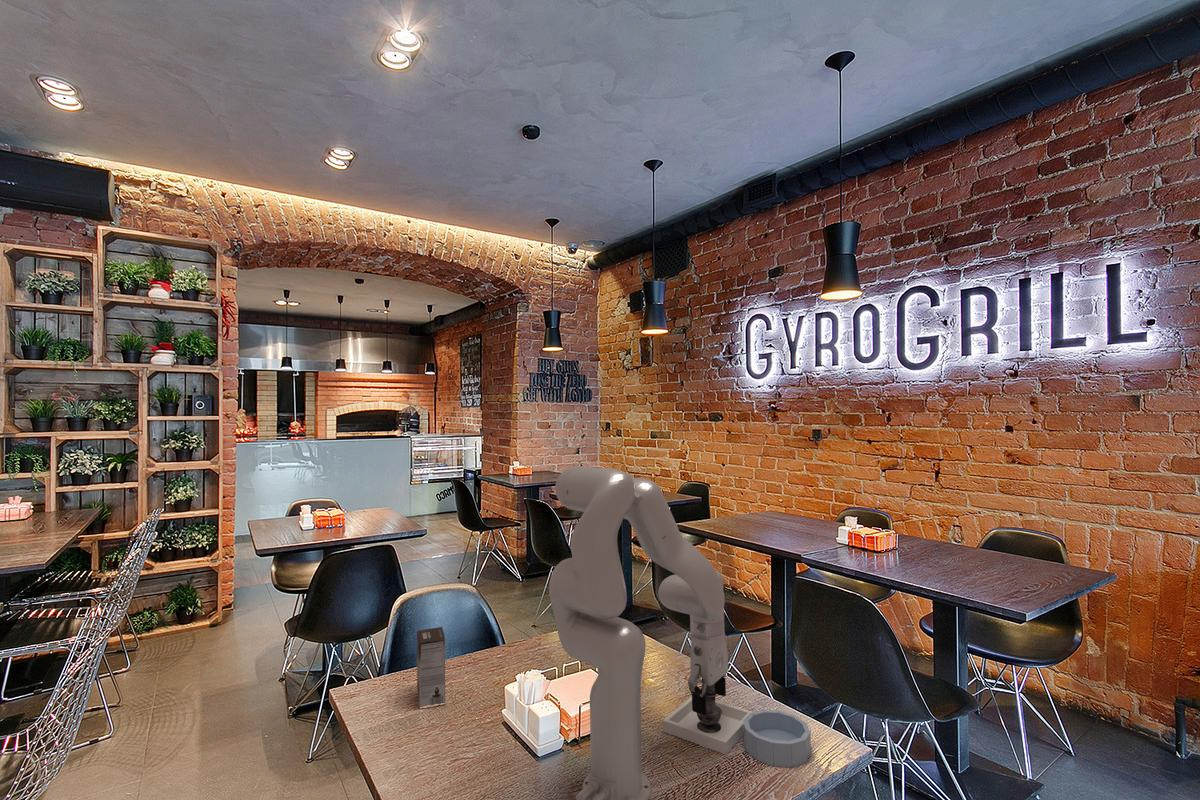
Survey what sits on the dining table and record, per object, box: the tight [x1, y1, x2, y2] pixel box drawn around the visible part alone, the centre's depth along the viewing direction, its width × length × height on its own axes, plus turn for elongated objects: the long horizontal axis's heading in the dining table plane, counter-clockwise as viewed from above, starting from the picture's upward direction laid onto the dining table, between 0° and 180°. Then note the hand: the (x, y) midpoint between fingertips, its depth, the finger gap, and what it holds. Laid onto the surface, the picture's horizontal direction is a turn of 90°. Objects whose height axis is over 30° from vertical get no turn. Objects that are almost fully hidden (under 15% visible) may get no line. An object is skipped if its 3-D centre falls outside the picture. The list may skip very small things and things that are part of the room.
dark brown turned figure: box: [697, 678, 722, 733], centre depth 128 cm, size 6×6×12 cm
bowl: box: [743, 709, 812, 768], centre depth 120 cm, size 13×13×4 cm
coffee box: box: [416, 626, 446, 707], centre depth 143 cm, size 9×6×16 cm
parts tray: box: [662, 695, 754, 756], centre depth 128 cm, size 15×15×2 cm
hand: (709, 703), depth 129 cm, fingers open, 9 cm apart
